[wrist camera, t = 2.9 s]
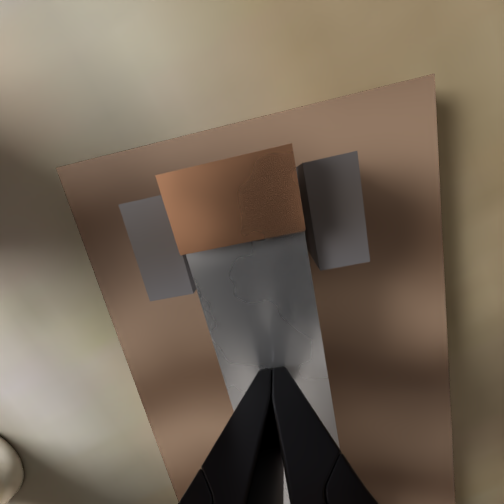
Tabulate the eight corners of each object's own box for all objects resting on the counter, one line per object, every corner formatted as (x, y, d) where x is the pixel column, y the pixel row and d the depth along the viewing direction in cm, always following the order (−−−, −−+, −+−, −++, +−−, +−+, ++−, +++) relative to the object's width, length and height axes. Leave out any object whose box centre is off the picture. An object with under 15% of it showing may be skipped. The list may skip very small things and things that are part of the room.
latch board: (439, 507, 15) (507, 635, 11) (205, 526, 17) (183, 646, 12) (411, 89, 10) (515, 19, 6) (81, 169, 12) (-27, 161, 7)
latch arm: (361, 561, 13) (375, 617, 11) (284, 565, 13) (287, 620, 12) (296, 145, 7) (305, 140, 6) (168, 176, 8) (143, 177, 6)
